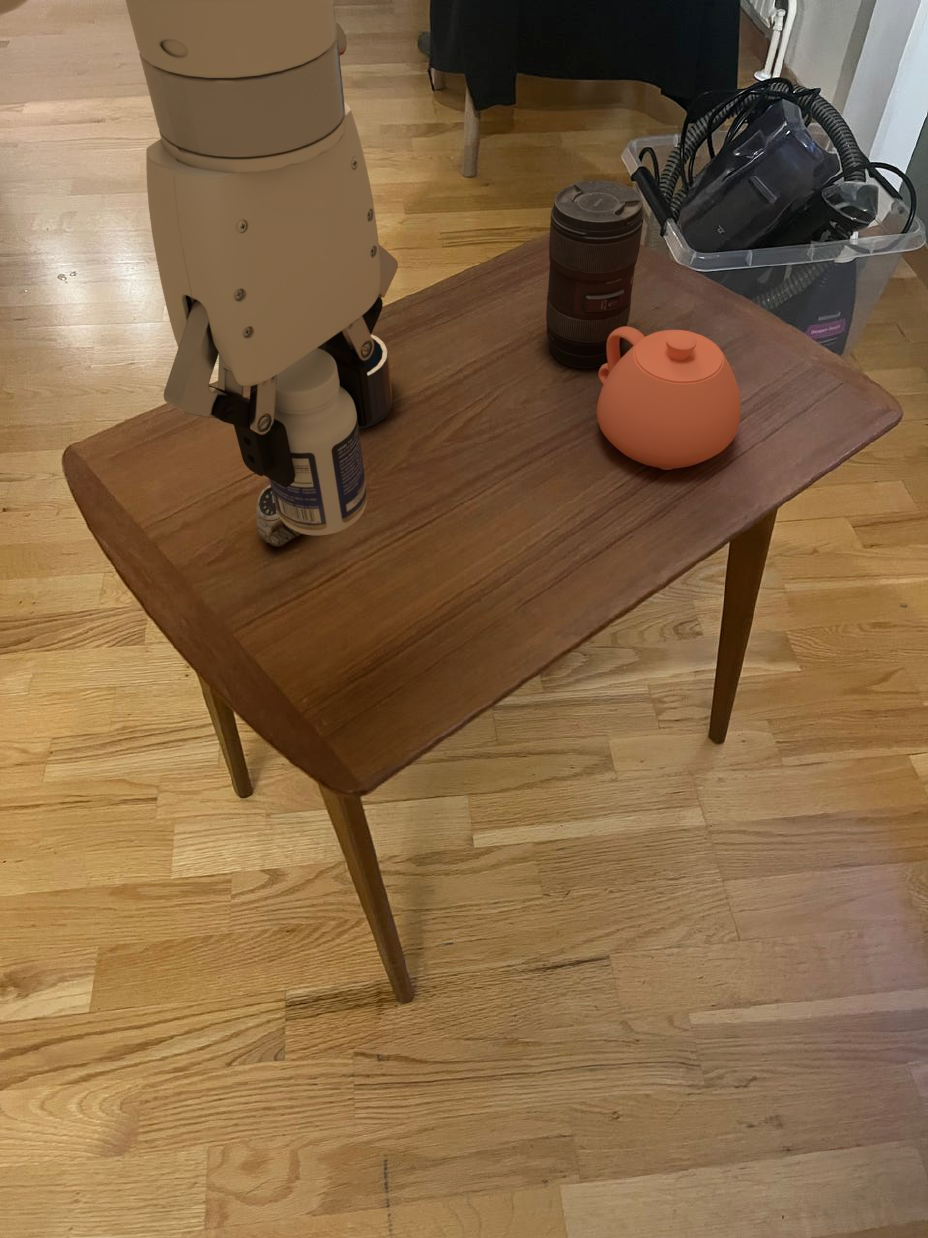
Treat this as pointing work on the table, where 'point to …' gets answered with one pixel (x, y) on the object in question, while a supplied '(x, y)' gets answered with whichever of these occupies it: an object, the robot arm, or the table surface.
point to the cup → (378, 382)
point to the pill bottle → (319, 448)
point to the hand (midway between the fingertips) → (310, 441)
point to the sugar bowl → (667, 398)
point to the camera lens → (591, 268)
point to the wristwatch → (271, 520)
